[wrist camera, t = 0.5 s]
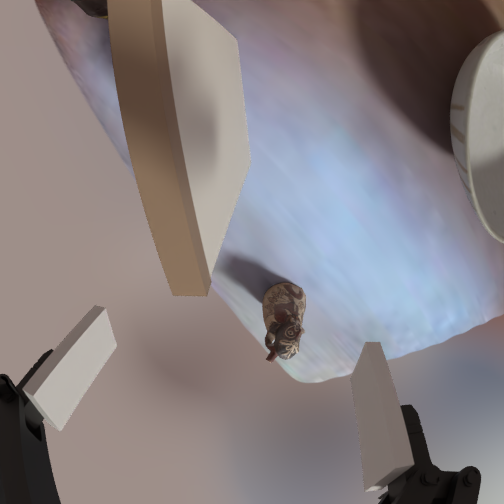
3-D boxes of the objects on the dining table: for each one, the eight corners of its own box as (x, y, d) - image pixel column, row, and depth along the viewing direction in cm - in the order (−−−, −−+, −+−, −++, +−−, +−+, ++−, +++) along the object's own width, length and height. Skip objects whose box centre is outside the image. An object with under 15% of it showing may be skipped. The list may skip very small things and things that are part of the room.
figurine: (311, 305, 46) (315, 364, 36) (275, 317, 49) (271, 374, 39) (295, 276, 43) (296, 337, 33) (255, 291, 46) (247, 350, 36)
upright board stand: (149, 56, 26) (-5, 63, 7) (236, 37, 24) (148, -34, 5) (170, 173, 35) (65, 289, 16) (251, 165, 34) (206, 296, 15)
